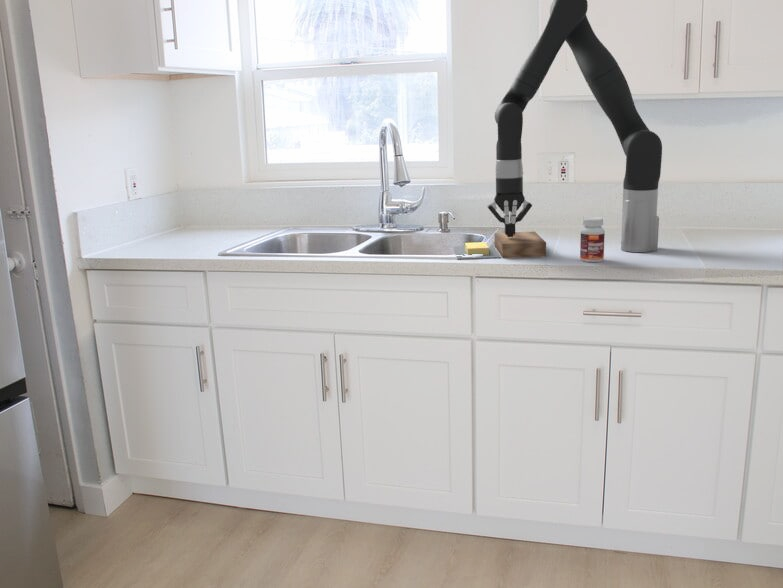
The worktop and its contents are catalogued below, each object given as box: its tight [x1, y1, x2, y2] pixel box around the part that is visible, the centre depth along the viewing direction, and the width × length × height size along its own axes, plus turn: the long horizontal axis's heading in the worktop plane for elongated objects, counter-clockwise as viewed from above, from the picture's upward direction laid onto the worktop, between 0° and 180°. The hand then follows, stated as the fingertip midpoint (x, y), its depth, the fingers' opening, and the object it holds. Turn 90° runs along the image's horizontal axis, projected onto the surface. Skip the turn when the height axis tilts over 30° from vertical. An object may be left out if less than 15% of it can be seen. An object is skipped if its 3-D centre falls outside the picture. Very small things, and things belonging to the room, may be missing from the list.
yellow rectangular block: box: [464, 241, 489, 255], centre depth 215 cm, size 6×9×2 cm, turn 0°
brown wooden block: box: [494, 231, 547, 259], centre depth 216 cm, size 12×18×4 cm, turn 179°
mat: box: [452, 244, 502, 260], centre depth 217 cm, size 12×18×1 cm, turn 179°
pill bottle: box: [579, 216, 606, 263], centre depth 199 cm, size 6×6×11 cm
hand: (509, 236), depth 214 cm, fingers closed
